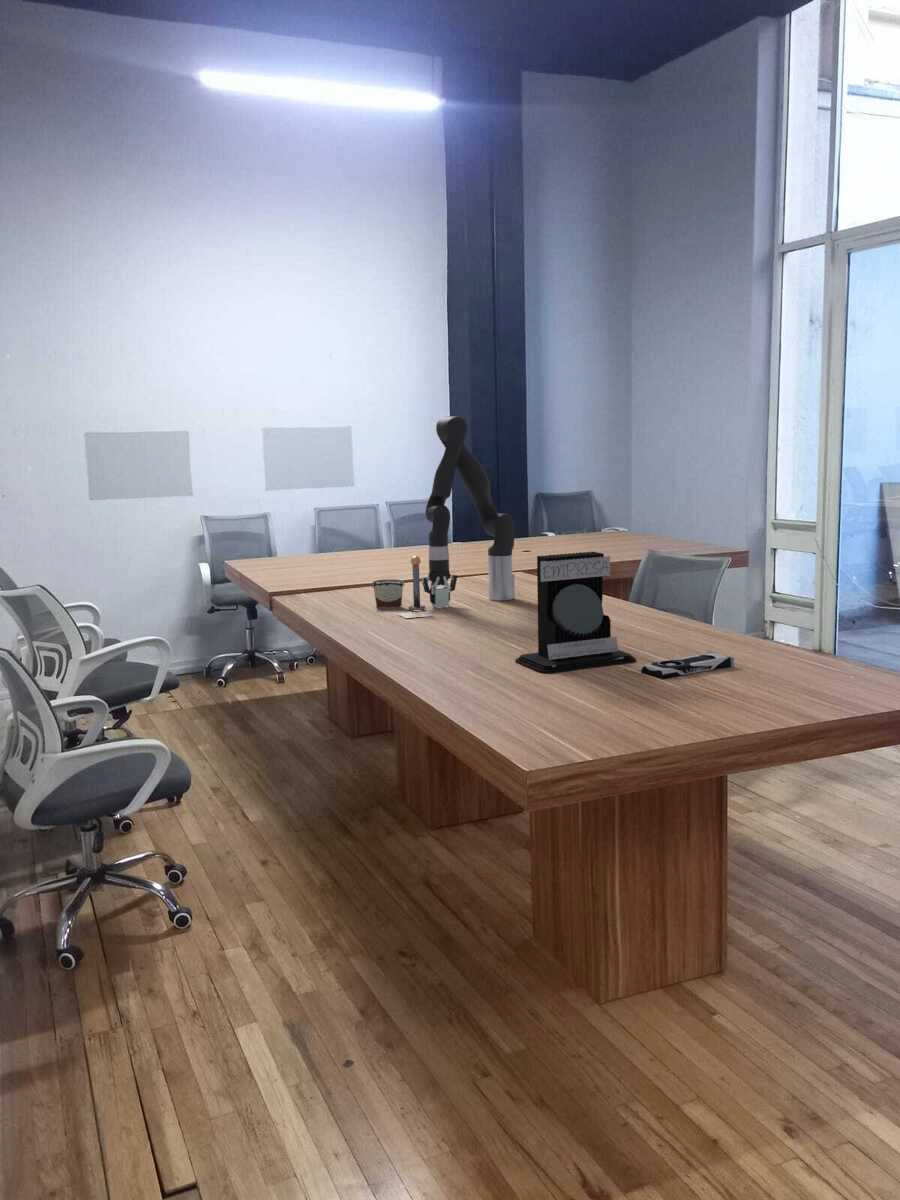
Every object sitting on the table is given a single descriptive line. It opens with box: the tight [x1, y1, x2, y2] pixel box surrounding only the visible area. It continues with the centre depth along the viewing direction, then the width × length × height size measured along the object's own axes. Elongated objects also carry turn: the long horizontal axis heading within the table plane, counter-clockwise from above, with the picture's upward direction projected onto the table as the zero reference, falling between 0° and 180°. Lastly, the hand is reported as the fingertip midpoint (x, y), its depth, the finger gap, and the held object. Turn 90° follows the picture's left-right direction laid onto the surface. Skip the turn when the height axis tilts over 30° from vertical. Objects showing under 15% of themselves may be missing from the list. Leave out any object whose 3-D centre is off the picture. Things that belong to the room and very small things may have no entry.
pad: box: [397, 611, 434, 619], centre depth 362 cm, size 10×10×1 cm
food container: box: [371, 578, 405, 608], centre depth 383 cm, size 12×6×10 cm, turn 84°
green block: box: [431, 586, 450, 609], centre depth 379 cm, size 5×5×7 cm
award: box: [514, 551, 637, 674], centre depth 282 cm, size 30×19×30 cm, turn 114°
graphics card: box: [640, 651, 735, 680], centre depth 271 cm, size 10×3×25 cm
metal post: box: [408, 555, 426, 611], centre depth 373 cm, size 6×6×20 cm
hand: (440, 602), depth 380 cm, fingers closed on green block, 5 cm apart
